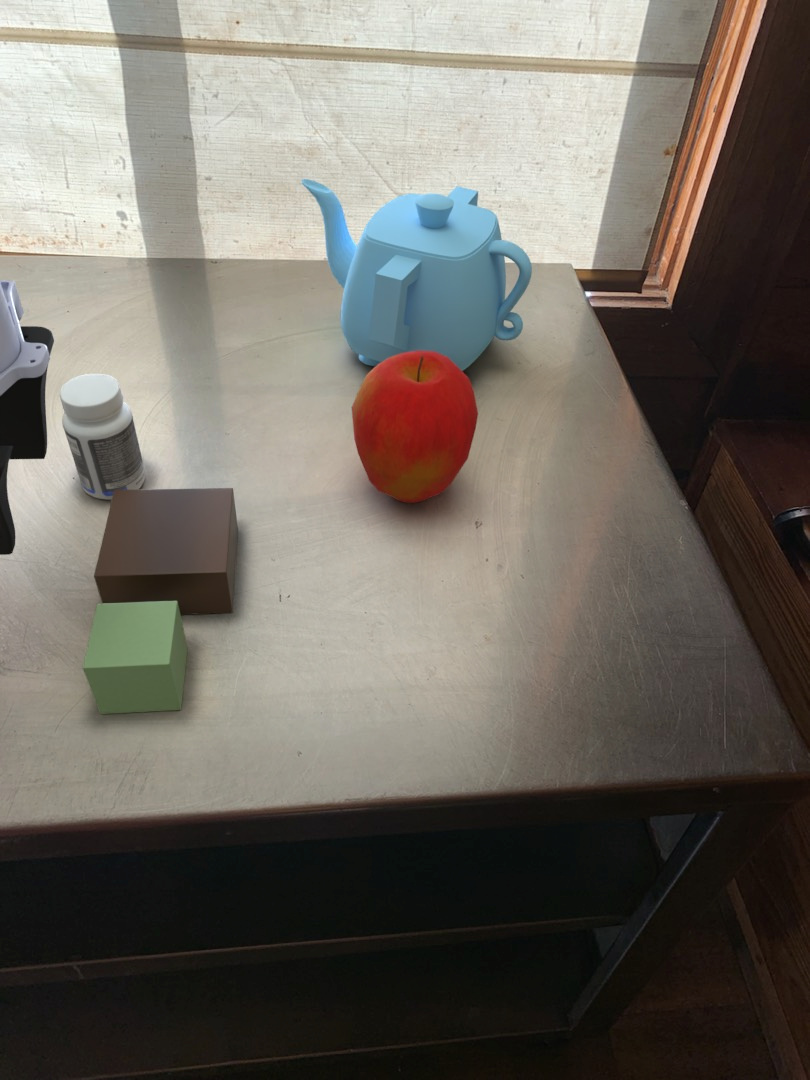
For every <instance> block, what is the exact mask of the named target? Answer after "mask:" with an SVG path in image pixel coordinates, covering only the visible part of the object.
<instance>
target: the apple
mask: <svg viewBox="0 0 810 1080" xmlns="http://www.w3.org/2000/svg"><path fill="white" fill-rule="evenodd" d="M351 416H352V427H353V428H352V429H353V438H354V443H355V448H356V451H357V455H358V457H359V460H360V462H361V465H362V467H363V469H364V472H365V474H366V476H367V479H368V481H369V482H370V483H371V485H372V486H373V487H374V488H375V489H376V490H377V491H378V492H380V493H382V494H385V495H387V496H389V497H391V498H393V499H395V500H397V501H399V502H401V503H402V502H403V503H407V504H415V503H420V502H423V501H425V500H428V499H430V498H433V497H435V496H437V495H440V494H442V493H443V492H444V491H445V490H446V489H447V488H449V486H451V485H452V483H453V481H454V480H455V479H456V477H457V476H458V474H459V473H460V471H461V470H462V468H463V466H464V465H465V464H466V462H467V461H468V459H469V456H470V451H471V448H472V444H473V440H474V436H475V433H476V428H477V424H478V416H479V410H478V406H477V401H476V396H475V391H474V388H473V385H472V382H471V380H470V378H469V376H468V375H467V374H466V373H464V371H461V370H460V369H459V368H458V367H457V366H456V365H455V364H454V363H453V362H452V361H451V360H450V359H449V358H448V357H446V356H444V355H441V354H439V353H437V352H434V351H412V352H405V353H401V354H398V355H395V356H392V357H389V358H387V359H386V360H384V361H383V362H381V363H379V364H378V365H377V366H374V367H373V368H372V369H371V370H370V371H369V372H368V373H366V375H365V377H364V379H363V381H362V383H361V386H360V387H359V390H358V392H357V393H356V396H355V398H354V400H353V403H352V406H351Z"/></svg>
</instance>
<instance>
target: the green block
mask: <svg viewBox="0 0 810 1080" xmlns="http://www.w3.org/2000/svg"><path fill="white" fill-rule="evenodd" d="M188 649H189V648H188V643H187V638H186V633H185V629H184V625H183V619H182V614H181V615H180V610H179V606H178V602H177V601H157V602H130V603H104V604H103V603H97V604H96V608H95V610H94V615H93V620H92V624H91V629H90V634H89V637H88V643H87V648H86V652H85V656H84V661H83V665H82V670H83V672H84V675H85V678H86V680H87V683H88V685H89V688H90V690H91V691H90V692H91V693H92V696H93V698H94V701H95V704H96V706H97V709H98V711H99V714H100V715H108V714H128V713H129V714H130V713H144V712H145V713H147V712H164V711H165V712H166V711H180V710H182V703H183V695H184V694H183V693H184V685H185V684H184V683H185V675H186V667H187V657H188Z"/></svg>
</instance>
